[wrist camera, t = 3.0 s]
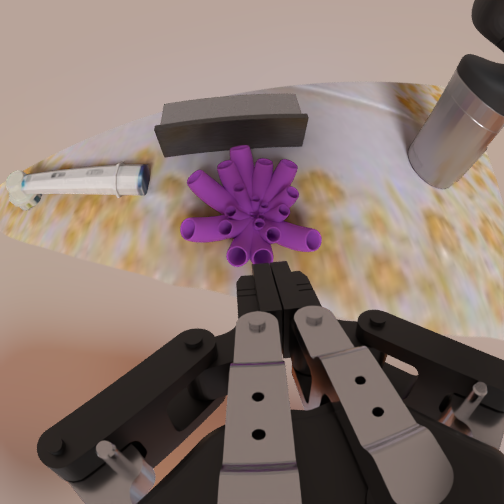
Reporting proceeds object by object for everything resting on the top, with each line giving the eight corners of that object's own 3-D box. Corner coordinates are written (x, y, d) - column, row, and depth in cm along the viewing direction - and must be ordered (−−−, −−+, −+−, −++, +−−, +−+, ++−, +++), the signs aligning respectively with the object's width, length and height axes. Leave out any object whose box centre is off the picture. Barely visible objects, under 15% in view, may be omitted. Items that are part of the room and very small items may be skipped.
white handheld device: (138, 188, 30) (-8, 191, 27) (148, 214, 37) (12, 212, 33) (147, 152, 32) (4, 162, 29) (154, 182, 38) (22, 184, 35)
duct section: (294, 118, 39) (299, 90, 34) (302, 146, 37) (308, 117, 32) (168, 128, 38) (159, 101, 33) (164, 157, 36) (154, 130, 31)
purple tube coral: (242, 289, 34) (178, 277, 26) (231, 182, 39) (179, 153, 31) (331, 263, 28) (282, 239, 20) (302, 146, 33) (256, 101, 25)
